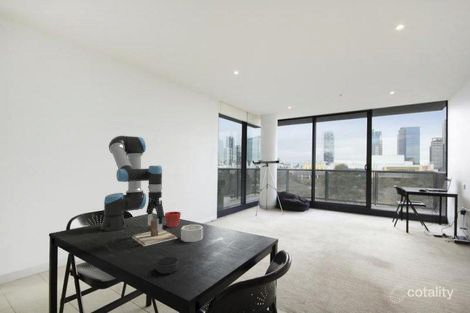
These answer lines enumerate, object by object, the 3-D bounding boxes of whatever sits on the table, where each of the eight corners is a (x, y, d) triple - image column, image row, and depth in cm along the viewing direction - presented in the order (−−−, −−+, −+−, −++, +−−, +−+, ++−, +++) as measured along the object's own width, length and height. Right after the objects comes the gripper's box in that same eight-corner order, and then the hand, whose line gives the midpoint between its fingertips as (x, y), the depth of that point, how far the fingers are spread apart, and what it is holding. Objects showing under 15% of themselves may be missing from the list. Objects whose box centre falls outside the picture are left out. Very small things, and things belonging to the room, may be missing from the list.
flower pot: (173, 223, 168) (173, 210, 168) (183, 226, 161) (183, 212, 162) (161, 227, 159) (161, 213, 159) (171, 229, 153) (171, 215, 153)
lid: (133, 237, 135) (133, 219, 136) (162, 231, 148) (162, 215, 148) (144, 245, 122) (145, 226, 122) (175, 237, 134) (175, 220, 135)
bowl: (177, 239, 134) (177, 227, 134) (195, 234, 142) (195, 223, 143) (188, 244, 125) (188, 231, 126) (206, 239, 133) (206, 227, 134)
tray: (131, 238, 135) (131, 237, 135) (162, 231, 149) (162, 230, 149) (143, 247, 121) (143, 246, 121) (177, 239, 134) (177, 238, 134)
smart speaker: (170, 263, 102) (170, 254, 102) (182, 269, 96) (182, 260, 96) (152, 270, 95) (152, 260, 95) (163, 277, 90) (164, 267, 90)
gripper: (141, 190, 142) (140, 224, 142) (157, 193, 124) (157, 232, 123) (152, 189, 147) (152, 222, 147) (170, 192, 129) (170, 230, 128)
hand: (154, 227), depth 135 cm, fingers open, 13 cm apart
